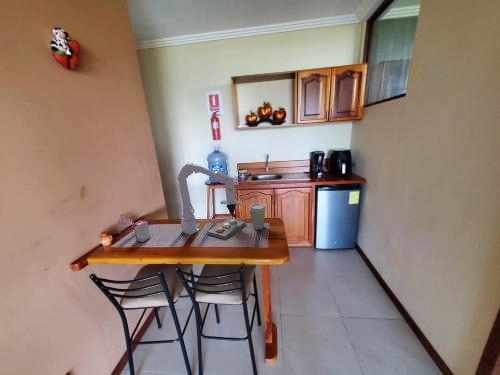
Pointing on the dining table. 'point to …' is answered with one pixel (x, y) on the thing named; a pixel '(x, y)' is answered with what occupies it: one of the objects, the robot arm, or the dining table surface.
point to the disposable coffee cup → (257, 215)
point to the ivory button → (226, 225)
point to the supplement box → (141, 231)
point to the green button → (233, 221)
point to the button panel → (226, 232)
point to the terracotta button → (219, 229)
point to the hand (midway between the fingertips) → (232, 214)
